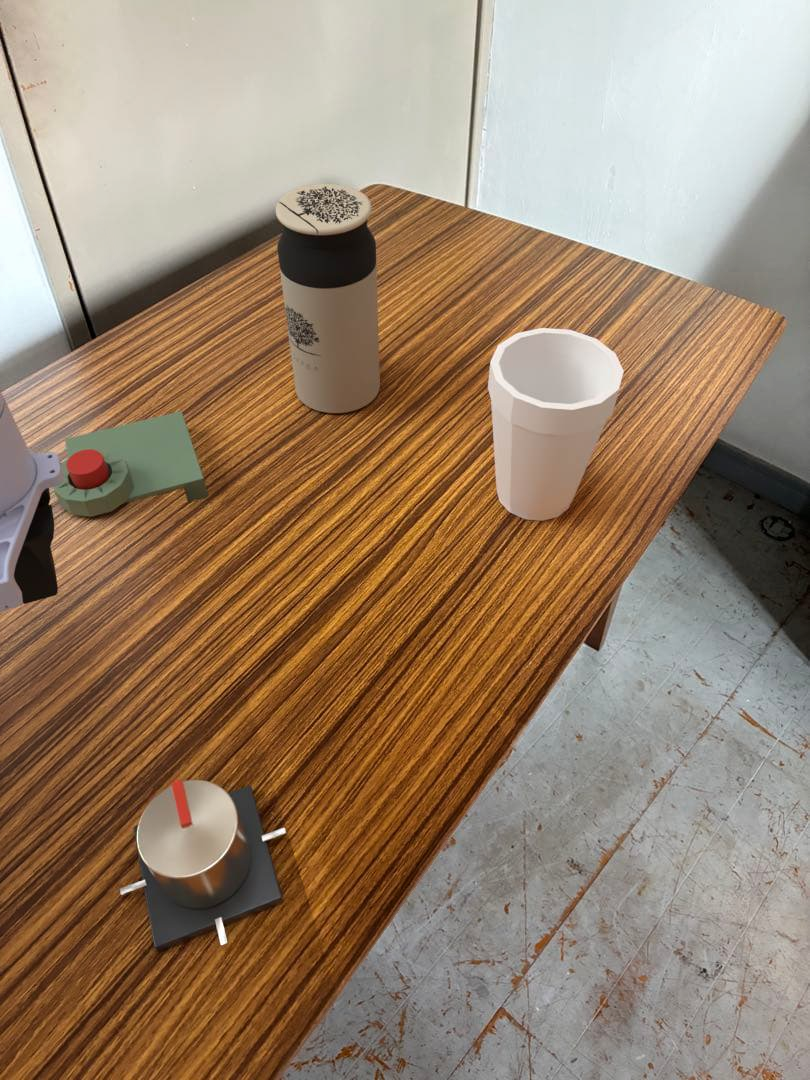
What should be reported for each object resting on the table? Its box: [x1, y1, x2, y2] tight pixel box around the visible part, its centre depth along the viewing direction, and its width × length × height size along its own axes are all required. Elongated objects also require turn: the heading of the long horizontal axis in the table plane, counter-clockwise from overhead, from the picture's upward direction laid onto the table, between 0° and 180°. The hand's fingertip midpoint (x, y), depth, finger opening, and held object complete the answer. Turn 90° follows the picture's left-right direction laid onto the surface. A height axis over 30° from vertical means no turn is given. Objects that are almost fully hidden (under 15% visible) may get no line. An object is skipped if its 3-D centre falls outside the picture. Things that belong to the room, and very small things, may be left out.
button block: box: [52, 410, 209, 518], centre depth 67 cm, size 11×10×4 cm
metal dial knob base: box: [119, 785, 287, 952], centre depth 47 cm, size 9×9×3 cm
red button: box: [66, 449, 109, 490], centre depth 64 cm, size 3×3×2 cm
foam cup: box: [487, 327, 625, 522], centre depth 63 cm, size 10×9×13 cm
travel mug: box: [275, 183, 381, 414], centre depth 70 cm, size 8×8×18 cm
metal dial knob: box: [136, 779, 251, 909], centre depth 44 cm, size 5×5×5 cm
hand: (39, 591), depth 48 cm, fingers closed
